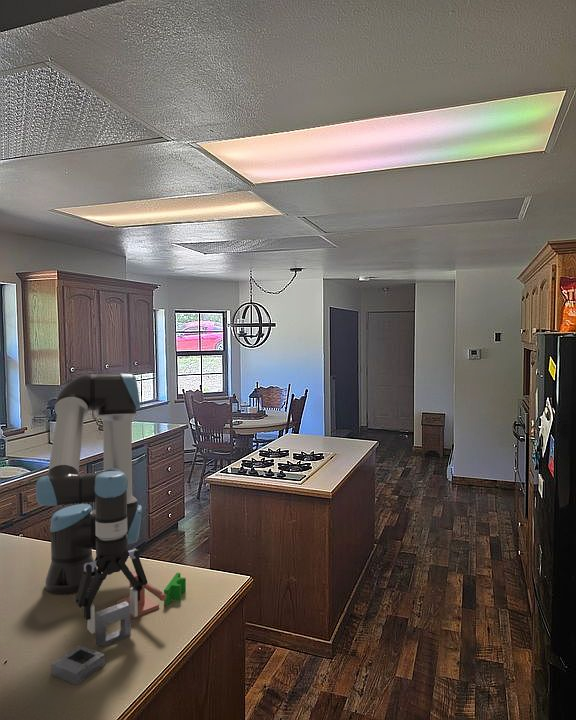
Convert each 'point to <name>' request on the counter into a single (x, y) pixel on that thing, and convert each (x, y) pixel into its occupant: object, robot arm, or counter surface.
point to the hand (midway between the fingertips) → (113, 622)
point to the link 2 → (108, 617)
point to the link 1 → (77, 664)
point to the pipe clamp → (175, 589)
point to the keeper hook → (145, 598)
